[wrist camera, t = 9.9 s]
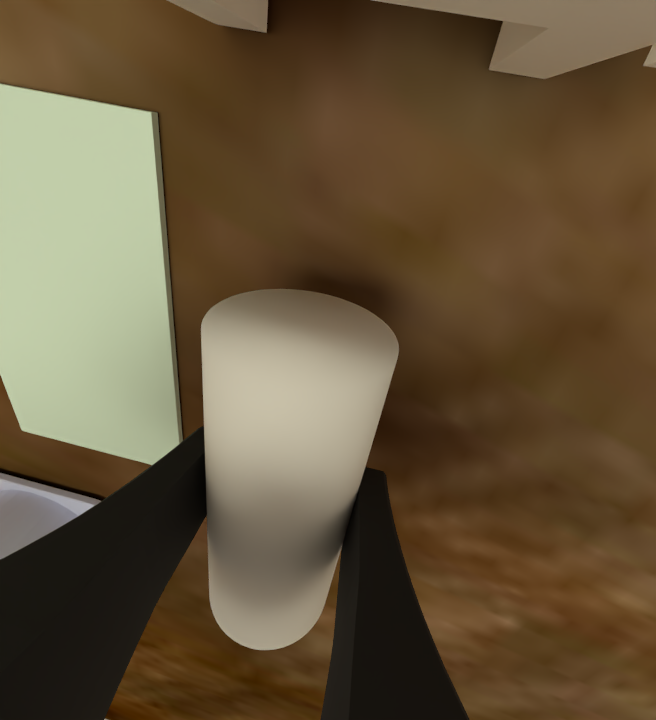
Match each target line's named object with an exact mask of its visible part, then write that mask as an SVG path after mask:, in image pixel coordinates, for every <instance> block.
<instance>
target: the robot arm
mask: <svg viewBox="0 0 656 720" xmlns="http://www.w3.org/2000/svg"><path fill="white" fill-rule="evenodd" d="M206 515H207V503H206V472H205V440H204V427H200V428H198V429H197V430H196V431H195V432H193V433H192V434H191V435H190V436H189V437H187V438H186V439H185V440H184V441H182V442H181V443H180V444H179V445H177V446H176V447H175V448H174V449H172V450H171V451H170V452H169V453H167V454H166V455H165V456H164V457H162V458H161V459H160V460H158V461H157V462H156V463H154V464H153V465H152V466H150V467H149V468H148V469H146V470H145V471H144V472H142V473H141V474H140V475H138V476H137V477H136V478H134V479H133V480H132V481H130V482H129V483H127V484H126V485H124V486H123V487H122V488H120V489H119V490H117V491H116V492H114V493H113V494H111V495H110V496H108V497H107V498H105V499H104V500H103V501H100V500H98V499H95V498H91V497H87V496H84V495H80V494H76V493H73V492H69V491H65V490H62V489H58V488H54V487H51V486H47V485H44V484H40V483H36V482H33V481H29V480H25V479H22V478H18V477H14V476H11V475H7V474H3V473H0V720H104V719H105V716H106V714H107V712H108V709H109V707H110V705H111V702H112V700H113V698H114V695H115V693H116V691H117V688H118V686H119V684H120V682H121V679H122V677H123V675H124V673H125V670H126V668H127V666H128V664H129V662H130V659H131V657H132V655H133V653H134V650H135V648H136V646H137V644H138V642H139V639H140V637H141V635H142V633H143V631H144V629H145V627H146V624H147V622H148V620H149V618H150V616H151V614H152V612H153V610H154V607H155V605H156V603H157V602H158V600H159V598H160V596H161V594H162V592H163V590H164V588H165V586H166V585H167V583H168V581H169V580H170V578H171V576H172V574H173V573H174V571H175V569H176V567H177V566H178V564H179V562H180V560H181V559H182V557H183V555H184V553H185V552H186V550H187V548H188V547H189V545H190V543H191V541H192V540H193V538H194V536H195V534H196V533H197V531H198V529H199V527H200V526H201V524H202V522H203V520H204V518H205V517H206ZM321 720H469V718H468V715H467V713H466V711H465V709H464V707H463V705H462V703H461V701H460V699H459V696H458V694H457V692H456V690H455V688H454V686H453V684H452V682H451V680H450V677H449V675H448V673H447V671H446V669H445V667H444V664H443V662H442V660H441V657H440V655H439V653H438V650H437V648H436V646H435V643H434V641H433V639H432V636H431V634H430V631H429V629H428V626H427V624H426V621H425V619H424V616H423V613H422V611H421V608H420V605H419V603H418V600H417V597H416V594H415V591H414V588H413V585H412V582H411V579H410V576H409V573H408V570H407V567H406V564H405V560H404V557H403V554H402V550H401V546H400V543H399V539H398V535H397V532H396V528H395V524H394V519H393V515H392V510H391V505H390V500H389V494H388V488H387V480H386V475H385V473H384V472H383V471H379V470H375V469H371V468H367V467H365V470H364V473H363V477H362V480H361V483H360V486H359V489H358V493H357V496H356V500H355V503H354V506H353V510H352V513H351V516H350V520H349V523H348V527H347V530H346V533H345V537H344V540H343V544H342V551H341V561H340V572H339V584H338V595H337V606H336V618H335V629H334V639H333V647H332V655H331V662H330V668H329V674H328V680H327V686H326V692H325V698H324V704H323V709H322V715H321Z"/></svg>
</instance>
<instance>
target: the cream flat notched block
mask: <svg viewBox="0 0 656 720" xmlns="http://www.w3.org/2000/svg"><path fill="white" fill-rule="evenodd" d="M167 1H169V2H171V3H173V4H175V5H177V6H180V7H182V8H184V9H186V10H188V11H190V12H192V13H194V14H196V15H198V16H200V17H202V18H204V19H206V20H208V21H210V22H212V23H214V24H217V25H223V26H229V27H235V28H241V29H247V30H253V31H259V32H265V33H267V15H268V0H167ZM372 1H379V2H385V3H391V4H398V5H404V6H411V7H417V8H423V9H430V10H436V11H442V12H449V13H455V14H462V15H468V16H474V17H481V18H487V19H494V20H500V21H503V23H502V26H501V30H500V33H499V36H498V40H497V43H496V46H495V50H494V53H493V56H492V59H491V63H490V66H489V69H488V70H492V71H498V72H504V73H510V74H516V75H522V76H528V77H534V78H540V79H547V78H550V77H553V76H556V75H559V74H563V73H566V72H569V71H572V70H575V69H578V68H581V67H584V66H588V65H591V64H594V63H597V62H600V61H603V60H606V59H609V58H613V57H616V56H619V55H622V54H625V53H628V52H631V51H634V50H637V49H641V48H644V47H647V46H650V45H653V46H652V48H651V50H650V52H649V54H648V56H647V58H646V60H645V63H644V65H643V66H648V67H654V68H656V0H372Z"/></svg>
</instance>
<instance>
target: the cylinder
mask: <svg viewBox="0 0 656 720" xmlns="http://www.w3.org/2000/svg"><path fill="white" fill-rule="evenodd" d="M201 345H202V377H203V409H204V440H205V472H206V503H207V535H208V567H209V598H210V605H211V609H212V612H213V615H214V617H215V619H216V621H217V623H218V625H219V626H220V627H221V629H222V630H223V631H224V632H225V633H226V634H227V635H228V636H229V637H230V638H231V639H233V640H234V641H235V642H237V643H239V644H241V645H243V646H246V647H248V648H252V649H257V650H273V649H279V648H282V647H285V646H288V645H290V644H292V643H294V642H296V641H297V640H299V639H301V638H302V637H303V636H304V635H305V634H307V633H308V632H309V630H310V629H311V628H312V627H313V626H314V625H315V623H316V622H317V620H318V618H319V617H320V615H321V613H322V610H323V608H324V605H325V602H326V598H327V595H328V591H329V588H330V585H331V581H332V578H333V575H334V571H335V568H336V564H337V561H338V558H339V554H340V551H341V548H342V544H343V540H344V537H345V533H346V530H347V527H348V523H349V520H350V516H351V513H352V510H353V506H354V503H355V500H356V496H357V493H358V489H359V486H360V483H361V480H362V477H363V473H364V470H365V467H366V463H367V460H368V456H369V453H370V450H371V446H372V443H373V439H374V436H375V433H376V429H377V426H378V423H379V419H380V416H381V412H382V409H383V406H384V402H385V399H386V396H387V392H388V389H389V385H390V382H391V379H392V375H393V372H394V369H395V365H396V362H397V358H398V354H399V344H398V341H397V338H396V336H395V334H394V333H393V331H392V330H391V329H390V327H389V326H388V325H387V324H386V323H385V322H384V321H383V320H381V319H380V318H379V317H377V316H376V315H375V314H373V313H371V312H370V311H368V310H366V309H365V308H363V307H361V306H359V305H356V304H354V303H352V302H349V301H347V300H344V299H341V298H338V297H334V296H331V295H327V294H323V293H317V292H312V291H305V290H295V289H265V290H256V291H250V292H245V293H241V294H238V295H235V296H232V297H229V298H227V299H225V300H223V301H221V302H219V303H217V304H216V305H215V306H213V307H212V308H211V309H210V310H209V311H208V312H207V313H206V315H205V317H204V318H203V320H202V324H201Z"/></svg>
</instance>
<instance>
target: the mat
mask: <svg viewBox="0 0 656 720" xmlns="http://www.w3.org/2000/svg"><path fill="white" fill-rule="evenodd" d="M0 375H1V377H2V380H3V383H4V385H5V388H6V390H7V393H8V396H9V398H10V401H11V403H12V406H13V409H14V411H15V414H16V416H17V419H18V422H19V424H20V427H21V429H22V431H25V432H29V433H33V434H37V435H40V436H44V437H48V438H52V439H56V440H59V441H63V442H67V443H71V444H75V445H78V446H82V447H86V448H90V449H94V450H97V451H101V452H105V453H109V454H113V455H116V456H120V457H124V458H128V459H132V460H135V461H139V462H143V463H147V464H151V465H153V464H154V463H156V462H157V461H158V460H160V459H161V458H162V457H164V456H165V455H166V454H167V453H169V452H170V451H171V450H172V449H174V448H175V447H176V446H177V445H179V444H180V443H181V442H182V441H183V437H182V424H181V411H180V398H179V385H178V372H177V359H176V346H175V333H174V320H173V307H172V294H171V281H170V268H169V255H168V242H167V229H166V216H165V203H164V190H163V177H162V164H161V151H160V138H159V125H158V113H157V112H151V111H146V110H141V109H135V108H130V107H125V106H119V105H114V104H109V103H103V102H98V101H93V100H87V99H82V98H77V97H71V96H66V95H61V94H55V93H50V92H45V91H39V90H34V89H29V88H23V87H18V86H13V85H7V84H2V83H0Z"/></svg>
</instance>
